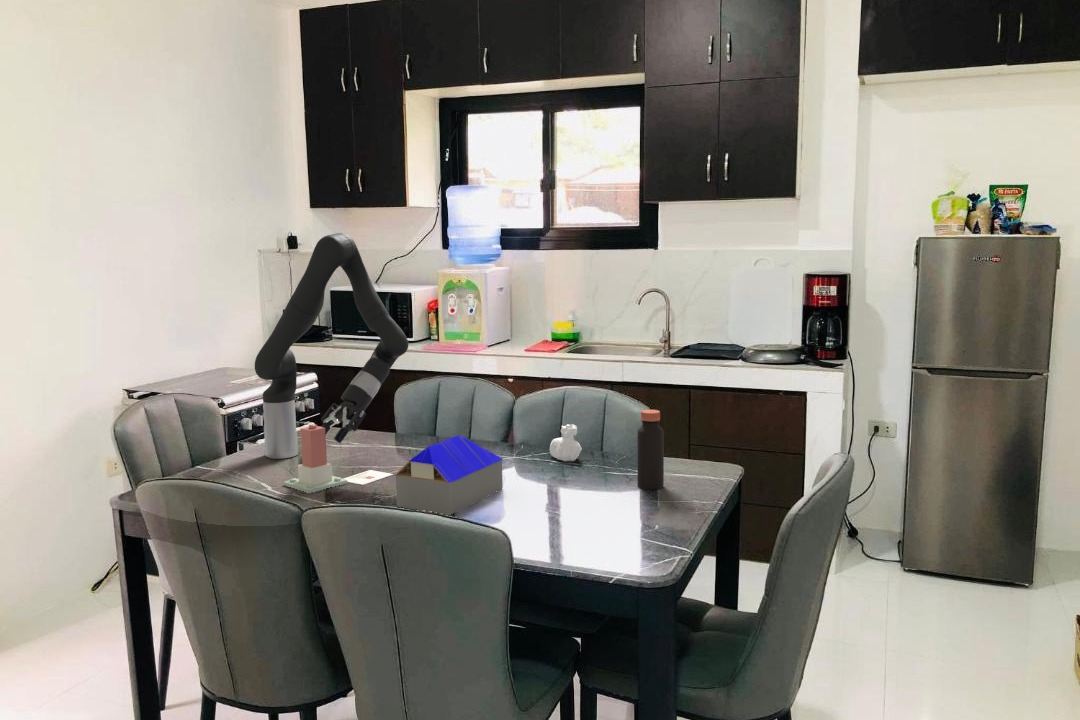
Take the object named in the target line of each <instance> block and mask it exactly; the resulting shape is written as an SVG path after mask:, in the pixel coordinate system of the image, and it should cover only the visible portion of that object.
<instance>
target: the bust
mask: <svg viewBox="0 0 1080 720" xmlns="http://www.w3.org/2000/svg"><path fill="white" fill-rule="evenodd" d="M560 433H561V434H562V436H561V437H557V438H553V439H552V440H551V443H550V445H549V453H550V455H551V456H552V457H553V458H554V459H555V458H557V459H556V460H560V461H563V462H575V461H576V459H577V458H578V457H579V456H580V453H581V451H582V449H583V448H582V446H581V445H580V443H579V442H578V441H577V440H575V438H574V436H577V433H578V426H577V425H575V424H574V423H572V424H568V423H567V424H566V425H561V429H560Z"/></svg>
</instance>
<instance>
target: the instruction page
mask: <svg viewBox="0 0 1080 720" xmlns="http://www.w3.org/2000/svg"><path fill="white" fill-rule="evenodd" d="M394 475H395V474H393V473H389V472H384V471H378V470H374V469H373V470H372V469H369V470H366V471H363V472H359V473H357V474H354V475H350V476H347V477H344V478H343V479H345V480H347V483H350V484H355V485H360V486H364V485H368V484H370V483H373V482H376V481H379V480H382V479H385V478H389V477H391V476H394Z"/></svg>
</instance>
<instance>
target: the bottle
mask: <svg viewBox="0 0 1080 720" xmlns="http://www.w3.org/2000/svg"><path fill="white" fill-rule="evenodd" d="M640 420H641V423H642V424H641V425H640V427H639V428H638V429H637V436H636V439H637V440H636V441H637V452H636V453H637V454H636V455H637V487H638V488H640V489H642V490H648V491H649V490H651V491H652V490H653V491H654V490H660V489H662V488H663V487H664V482H665V481H664V479H665V478H664V474H665V472H664V469H665V461H664V459H665V457H664V456H665V455H664V454H665V453H664V452H665V450H664V448H665V445H664V443H665V442H664V441H665V440H664V437H665V436H664V434H665V433H664V429H663V428H662V427H661V426H660V422H661V421H660V420H661V411H660V410H658V409H643V410H641V411H640Z"/></svg>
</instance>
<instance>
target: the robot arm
mask: <svg viewBox="0 0 1080 720" xmlns="http://www.w3.org/2000/svg"><path fill="white" fill-rule="evenodd" d="M339 267H340V268H341V269H342V270H343V271H344V273H345V275H346V277H347V278H348V280H349V283H350V285H351V290H352V293H353V299H354V303H355V305H356V306H355V307H356V308H357V310H358V312H359V315H360V316H361V317H362V319H363V321H364V323H365V324H366V327H367V328H368V329H369V330H370V331H371V332H375V333H376V334H377V335H378V337H379V338H380V341H379V342H378V344H377V345H376V347H375V348H374V350H373V352H372V354H371V356H370V358H368V360H367V361H366V362H365V364H364V365H363V367H362V368H361V370H360V371H359V372H358V373H357V374H356V375H355V377H353V378H352V380H351V382H350V383H349V385H348V386H347V388H346V389H345V390H344V391H343V393H342V394H341V397H340V398H341V401H342V402H341V403H340V404H339V405H337V404H336V403H335V402H333V403H331V405H330V407H329V408H328V409H327V410H326V411H325V412H324V414H323V415H322V416H321V418H320V420H321V422H322V423H323V424H322V425H321V427H324V428H325V435H327V434H328V432H329V431H330V430H331V428H332V427H333V426H335V425H339V424H340V423H342V426H341V427H340V428H339V430H338V432H337V433H336V434H335V435H334V437H333V439H334V441H335V442H337V443H339V444H341V443H342V441H344V440H345V437H346V436H347V434H348V433H351V432H352V431H353V432H356V431H357V430H358V428H359V427H360V425H361V424H362V422H363V420H364V419H365V417H366V415H367V413H366V412H365V411H366V409H367V408H368V407H369V405H370V404H371V402H372V400H373V399H374V398H375V396H376V395H377V393H378V392H379V390H380V388H381V386H382V385H383V383H384V382H385V380H386V379H387V378H388V377H389V374H390V372H391V368H392V367H393V365H394V364H395V362H396V361H398V358H400V357H401V356H403V355H405V354H406V353H407V351H408V350H409V341H408V340H409V339H408V338H407V336H406V333H405V332H404V331H403V330H402V328H401V327H400V326H399V325H398V324H397V323H396V321H395V320H394V319H393V318H392V317H391V315H390V314H389V312H388V310H387V308H386V306H385V304H384V303H383V301H382V300H381V298H380V296H379V295H378V292H377V291H376V289H375V287H374V285H373V283H372V280H371V279H370V276H369V274H368V271H367V269H366V266H365V264H364V261H363V259H362V256H361V254H360V251H359V249H358V246H357V244H356V241H355V240H354V239H353V238H352V237H351V236H350V235H349V234H347V233H344V232H337V233H332V234H328V235H325V236H322V238H320V239H319V240H318V242H316V244H315V247H314V249H313V250H312V254H311V257H310V259H309V261H308V264H307V266H306V268H305V272H304V273H303V275H302V276H301V278H300V281H299V282H298V283H297V286H296V288H295V290H294V292H293V293H292V295H291V296H290V298H289V300H288V302H287V305H286V306H285V308H284V310H283V312H282V314H281V316H280V318H279V320H278V322H277V324H276V325H275V327H274V329H273V331H272V332H271V334H270V336H269V337H268V339H267V340H266V341H265V343H264V344H263V346H261V349H260V350H259V351H258V353H257V355H256V357H255V361H254V370H255V374H256V376H257V377H259V378H260V379H261V380H267V381H271V380H272V381H271V383H270V385H269V387H268V388H266V389H265V390H264V391H263V393H262V405H263V406H262V407H263V420H264V423H263V424H264V425H263V437H264V452H265V456H266V458H267V457H268V459H275V460H277V459H280V460H281V459H282V460H283V459H287V458H288V459H289V458H293V457H295V456H297V455H298V436H297V421H296V420H297V419H296V406H295V405H296V403H295V395H296V391H297V361H296V357H295V354H294V352H293V351H292V350H291V349H290V348H291V347H292V346H293V344H295V343H296V342H297V341H298V340H299V339H300V338H301V337H303V335H305V334H306V333H307V332H308V331H309V330H310V329H312V326H313V325H314V324H315V322H316V320H317V319H318V317H319V316H320V313H321V311H322V309H323V307H324V302H325V295H326V294H325V292H326V287H327V285H328V282H329V281H330V279H331V278H332V276H333V275H334V272H336V270H337V269H338V268H339Z"/></svg>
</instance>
